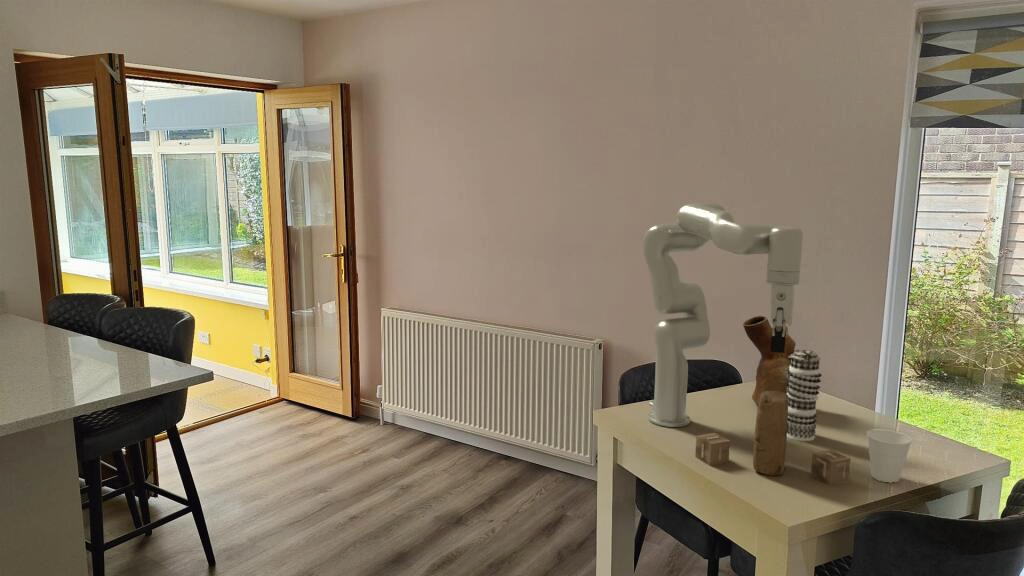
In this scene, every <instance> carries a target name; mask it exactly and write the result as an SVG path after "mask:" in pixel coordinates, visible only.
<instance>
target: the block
mask: <svg viewBox="0 0 1024 576" xmlns="http://www.w3.org/2000/svg"><path fill="white" fill-rule="evenodd" d="M787 425H788V395H787V394H786V393H784V392H779V391H764V392H762V393H761V396H760V399H759V404H758V405H757V412H756V417H755V426H754V428H755V429H754V436H753V437H754V439H753V455H752V458H753V459H752V460H753V461H752V465H753V466H752V467H753V470H755V472H757V473H760V474H763V475H767V476H781V475H783V473H784V471H785V465H786V464H785V463H786V454H787V438H788V437H787Z"/></svg>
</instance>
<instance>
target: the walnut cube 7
mask: <svg viewBox="0 0 1024 576" xmlns="http://www.w3.org/2000/svg"><path fill="white" fill-rule="evenodd" d="M850 467H851V458H850V457H848V456H846V455H844V454H841V453H839V452H837V451H835V450H832V449H826V450H823V451H818V452H812V460H811V467H810V468H811V469H810V476H811V477H813V478H814V479H816V480H819V481H821V482H823V483H825V484H826V485H828V486H834V485H839V484H843V482H844V483H846V482H847V483H848V482H849V478H850Z"/></svg>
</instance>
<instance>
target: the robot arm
mask: <svg viewBox="0 0 1024 576" xmlns="http://www.w3.org/2000/svg"><path fill="white" fill-rule="evenodd" d="M803 235H804V234H803V230H802V229H801V228H799V227H795V226H781V225H777V224H773V223H755V224H754V223H752V224H748V223H747V224H743V223H742V224H740V223H737V222H735V220H734V217H733V215H732V214H731V213H730V212H728V211H726V209H725V208H724V207H723V205H721V204H720V203H719V204H718V203H715V202H693V203H687V204H684V205H683V206H681V208H680V209H679V210H678V211H677V214H676V223H660V224H656V225H654V226H651V227H650V228H649V229H648V230H647V231H646V232H645V235H644V237H643V242H642V250H643V256H644V259H645V262H646V265H647V268H648V272H649V279H650V286H651V287H650V288H651V291H652V292H651V293H652V299H653V303H654V304H653V305H654V308H655V309H656V310H655V311H656V312H658V313H659V314H662V315H677V314H682V315H683V317H675V318H674V317H673V318H667V319H664V320H662V321H660V322H658V323H657V324H656V325H655V327H654V329H653V342H654V348H655V371H654V373H655V375H654V394H653V395H654V397H653V398H654V400H653V401H650V402H649V406H650V407H652V411H651V412H649V413H648V416H647V418H648V419H647V420H649V422H651V423H653V424H655V425H657V426H661V427H665V428H666V427H667V428H680V427H681V428H682V427H685V426H688V425H690V424H691V417H690V416H689V415H688V414H686V413H687V412H686V411H687V409H686V408H687V394H688V393H687V391H688V375H689V373H688V372H689V365H688V360H687V358H686V356H685V355H684V352H683V350H684V351H685V350H689V349H696V348H701V347H703V346H706V345H707V344H708V342H709V340H710V335H711V331H710V330H711V329H710V320H709V315H708V307H707V302H706V296H705V293H704V290H703V289H702V288H701V286H700V285H699V284H697V283H696V282H695V281H681V280H680V275H679V268H678V266H677V264H676V261H675V260H674V259H673V258H672V257H671V256H670V255H669V253H680V252H694V251H697V250H698V249H701V248H702V247H703V246H704V245H706V244H707V243H708V242H710V241H712V243H713V244H714V245H715V246H716V247H717V248H719V249H721V250H724V251H726V252H729V253H733V254H736V255H745V256H746V255H747V256H748V255H764V254H765V255H766V254H767V266H766V281H765V283H767V284H768V285H771V287H770V301H769V303H770V304H769V316H770V317H769V319H770V325H772V328H773V330H772V335H771V348H770V351H771V352H778V353H784V350H785V338H786V331H785V326H786V325H788V326H789V327H790V326H792V325H793V315H794V301H795V286H799V285H800V279H801V278H800V275H801V265H802V262H801V261H802V252H803V251H802V249H803V238H804V236H803Z"/></svg>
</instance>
